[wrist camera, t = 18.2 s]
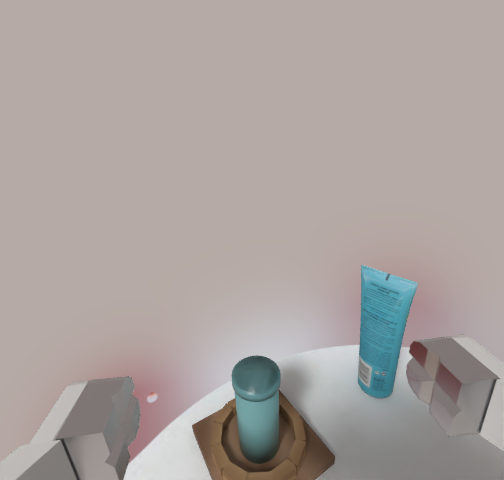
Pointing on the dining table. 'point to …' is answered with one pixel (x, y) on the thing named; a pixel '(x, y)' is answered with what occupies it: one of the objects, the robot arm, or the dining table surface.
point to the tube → (382, 328)
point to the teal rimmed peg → (257, 407)
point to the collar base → (276, 470)
